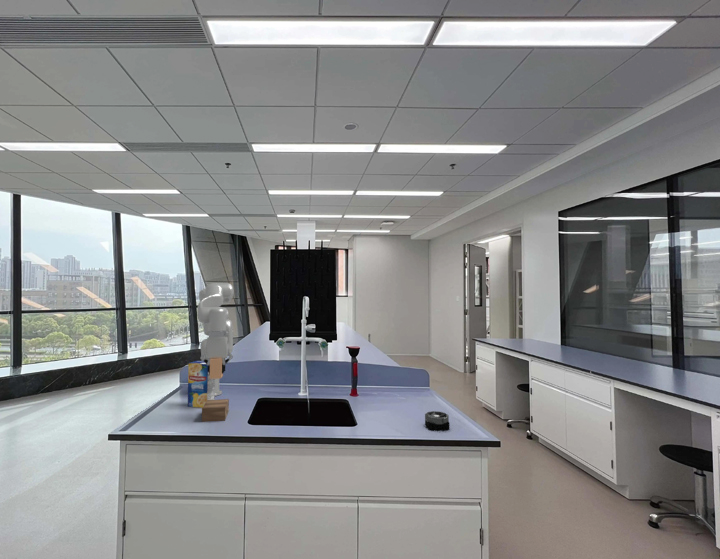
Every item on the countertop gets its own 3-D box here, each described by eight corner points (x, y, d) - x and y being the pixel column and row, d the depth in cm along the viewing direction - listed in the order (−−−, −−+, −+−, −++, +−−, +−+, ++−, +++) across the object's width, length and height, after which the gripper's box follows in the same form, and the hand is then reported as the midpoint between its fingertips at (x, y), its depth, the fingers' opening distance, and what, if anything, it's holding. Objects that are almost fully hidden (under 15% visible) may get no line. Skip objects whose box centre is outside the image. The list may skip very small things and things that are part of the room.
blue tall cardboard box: (207, 408, 201) (207, 364, 202) (187, 406, 203) (188, 363, 204) (214, 404, 208) (215, 361, 208) (195, 402, 210) (196, 360, 210)
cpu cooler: (423, 410, 182) (445, 410, 182) (423, 423, 181) (445, 423, 182) (428, 418, 171) (451, 418, 172) (427, 431, 171) (451, 431, 171)
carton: (212, 375, 191) (212, 356, 191) (223, 375, 192) (223, 356, 192) (209, 378, 184) (210, 359, 184) (221, 378, 185) (221, 358, 185)
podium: (207, 412, 194) (207, 400, 194) (228, 411, 196) (228, 399, 196) (201, 421, 180) (202, 408, 180) (224, 420, 182) (225, 407, 182)
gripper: (236, 333, 194) (236, 371, 194) (199, 333, 191) (198, 372, 190) (235, 335, 187) (234, 374, 186) (196, 335, 183) (195, 375, 183)
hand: (216, 372), depth 188 cm, fingers closed on carton, 5 cm apart
